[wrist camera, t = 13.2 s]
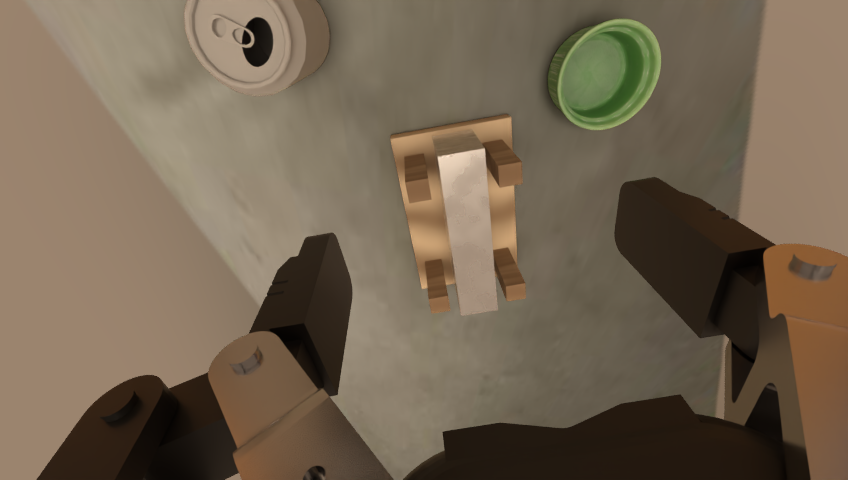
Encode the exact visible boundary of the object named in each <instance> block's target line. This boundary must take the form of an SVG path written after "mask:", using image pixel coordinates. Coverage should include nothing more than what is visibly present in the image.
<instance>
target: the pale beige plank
mask: <svg viewBox="0 0 848 480" xmlns="http://www.w3.org/2000/svg"><path fill="white" fill-rule="evenodd" d="M432 140H433V147H434V153H435V160H436V167H437V173H438V180H439V186H440V193H441V200H442V206H443V213H444V219H445V226H446V232H447V239H448V246H449V252H450V259H451V265H452V272H453V279H454V284H455V289H456V293H457V298H458V303H459V308H460V313H461V316H463V315H470V314H476V313H482V312H488V311H494V310H498V307H497V295H496V282H495V270H494V257H493V245H492V232H491V219H490V207H489V194H488V182H487V169H486V157H485V148H484V146H483V145H482V143H481V142H480V140H479V139H478V137H477V136H476V134H475V133H474V132H473V130H472V129H470V130H464V131H458V132H453V133H447V134H442V135H436V136H432Z"/></svg>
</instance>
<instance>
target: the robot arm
mask: <svg viewBox="0 0 848 480" xmlns="http://www.w3.org/2000/svg"><path fill="white" fill-rule="evenodd" d="M615 242H616V245H617V248H618V250H619V251H620V253H621V254H622V255H623V256H624V257H625V258H626V259H627V260H628V261H629V263H630V264H631V265H632V266H633V267H634V268H635V269H636V270H637V271H638V272H639V273H640V274H641V275H642V277H643V278H644V279H645V280H646V281H647V282H648V283H649V284H650V285H651V286H652V287H653V288H654V289H655V290H656V292H657V293H658V294H659V295H660V296H661V297H662V298H663V299H664V300H665V301H666V302H667V303H668V304H669V305H670V307H671V308H672V309H673V310H674V311H675V312H676V313H677V314H678V315H679V316H680V317H681V318H682V319H683V320H684V322H685V323H686V324H687V325H688V326H689V327H690V328H691V329H692V330H693V331H694V332H695V333H696V334H697V336H698V337H699V338H704V337H711V336H717V335H723V334H725V335H726V336H727V337H728V338H729V342H728V344H727V346H726V350H725V412H724V420H723V419H720V418H716V417H710V416H705V415H699V414H695V413H694V412H693V411H692V409H691V408H690V407H689V405H688V404H687V403H686V401H685V400H684V399H683V397H682V396H681V395H674V396H668V397H661V398H655V399H649V400H642V401H636V402H629V403H623V404H620V405H617V406H615V407H613V408H611V409H609V410H607V411H604V412H602V413H600V414H598V415H596V416H594V417H591V418H589V419H587V420H585V421H583V422H581V423H578V424H576V425H574V426H572V427H569V428H552V427H541V426H530V425H519V424H509V423H495V424H489V425H482V426H476V427H470V428H463V429H457V430H450V431H444V432H443V440H444V449H445V450H444V451H442V452H440V453H438V454H436V455H434V456H432V457H431V458H429V459H427V460H426V461H424V462H423V463H421V464H420V465H419V466H417V467H416V468H415V469H414V470H413V471H411V472H410V473H409V474H408V475H407V476H406V477H405V478H404V479H403V480H848V257H847V256H844V255H842V254H840V253H837V252H834V251H831V250H828V249H825V248H821V247H816V246H811V245H805V244H780V245H775V244H774V243H772V242H770V241H769V240H767V239H765V238H764V237H762V236H761V235H759V234H757V233H755V232H754V231H752V230H751V229H749V228H748V227H746V226H744V225H743V224H741V223H739V222H738V221H736V220H734V219H733V218H732V219H730V218H729V216H728V215H726V214H725V213H723V212H721V211H720V210H716V208H715V207H713V206H712V205H710V204H708V203H707V202H705V201H703V200H702V199H700V198H698V197H694V196H691V195H688V194H685V193H682V192H679V191H678V190H676V189H674V188H673V187H671V186H670V185H668V184H667V183H665V182H663V181H662V180H660V179H659V178H656V177H652V178H647V179H641V180H635V181H629V182H625V183H624V184H623V185H622V187H621V189H620V194H619V202H618V209H617V217H616V224H615ZM351 303H352V284H351V279H350V275H349V272H348V269H347V266H346V263H345V260H344V257H343V255H342V252H341V249H340V246H339V243H338V240H337V238H336V236H335V234H334V233H327V234H321V235H316V236H310V237H306V238H305V240H304V242H303V245H302V247H301V250H300V252H299V255H298V256H296V257H290V258H289V259H288V260H287V261H286V262H285V263H284V264H283V265H282V266H281V267H280V268H279V269H278V271H277V273H276V275H275V277H274V280H273V282H272V285H271V286H270V288H269V291H268V293H267V297H265V299H264V302H263V304H262V306H261V308H260V310H259V313H258V315H257V317H256V319H255V321H254V323H253V326H252V328H251V330H250V332H249V334H247V335H245V336H242V337H240V338H238V339H236V340H234V341H233V342H231V343H230V344H229V345H227V346H226V347H225V348H223V349H222V350H221V351H220V352H219V354H218V355H217V356H216V357H215V358H214V360H213V361H212V363H211V365H210V367H209V371H208V373H206V374H204V375H201V376H199V377H196V378H194V379H191V380H189V381H186V382H184V383H181V384H179V385H177V386H174V387H172V388H169V389H168V387H167V386H166V385H165V384H164V383H163V381H162V380H161V379H160V378H159V377H157V376H154V375H144V376H139V377H135V378H132V379H130V380H127V381H125V382H123V383H121V384H119V385H117V386H116V387H114V388H112V389H111V390H109V391H108V392H106V393H105V394H104V395H103V396H101V397H100V398H99V399H98V400H97V401H95V402H94V403H93V404H92V406H90V407H89V408H88V410H87V411H86V412H85V413H84V415H83V416H82V417H81V419H80V420H79V421H78V423H77V424H76V426H75V427H74V428H73V430H72V431H71V433H70V434H69V435H68V437H67V438H66V439H65V441H64V442H63V444H62V445H61V446H60V448H59V449H58V451H57V452H56V453H55V455H54V456H53V458H52V459H51V460H50V462H49V463H48V464H47V466H46V467H45V469H44V470H43V471H42V473H41V474H40V476H39V477H38V478H37V480H225V479H227V478H229V477H231V476H233V475H235V474H237V473H239V474H240V476H241V479H242V480H393V478H392V477H391V476H390V474H389V473H388V472H387V470H386V469H385V468H384V467H383V465H382V464H381V463H380V461H379V460H378V459H377V458H376V456H375V455H374V454H373V452H372V451H371V450H370V448H369V447H368V446H367V445H366V443H365V442H364V441H363V439H362V438H361V437H360V435H359V434H358V433H357V432H356V430H355V429H354V428H353V426H352V425H351V424H350V423H349V421H348V420H347V419H346V417H345V416H344V415H343V413H342V412H341V411H340V410H339V408H338V407H337V406H336V404H335V403H334V402H333V401H332V399H331V398H330V397H329V396H335V395H338V388H339V381H340V375H341V368H342V362H343V355H344V349H345V342H346V335H347V329H348V322H349V316H350V309H351Z"/></svg>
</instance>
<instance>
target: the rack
mask: <svg viewBox="0 0 848 480" xmlns="http://www.w3.org/2000/svg"><path fill="white" fill-rule="evenodd" d="M470 129H472V130H473V132H474V133H475V134H476V136H477V137H478V139H479V140H480V142H481V143H482V145H483V146H484V148H485V157H486V169H487V182H488V194H489V207H490V219H491V232H492V245H493V257H494V270H495V277H498V280H499V282H500V285H501V288H502V290H503V293H504V295H505V298H506V301H512V300H518V299H524V298H526V290H525V282H524V280H523V277H522V275H521V273H520V271H519V269H518V267H517V247H516V223H515V199H514V185H518V184H522V162H521V160H520V159H519V158H518V157H517V156H516V155H515V154H514V152H513V151H512V127H511V117H510V116H509V115H508V114H505V115H499V116H494V117H488V118H483V119H477V120H472V121H466V122H461V123H455V124H450V125H444V126H439V127H433V128H427V129H422V130H416V131H411V132H405V133H400V134H394V135H391V144H392V149H393V153H394V158H395V163H396V168H397V172H398V177H399V182H400V186H401V191H402V196H403V201H404V205H405V210H406V215H407V220H408V224H409V229H410V234H411V239H412V243H413V248H414V253H415V257H416V262H417V267H418V272H419V276H420V281H421V286H422V289H424V288H428V297H429V303H430V308H431V313H438V312H445V311H450V305H449V299H448V294H447V288H446V285H448V284H454V279H453V272H452V265H451V259H450V252H449V246H448V239H447V232H446V226H445V219H444V213H443V206H442V200H441V193H440V186H439V180H438V173H437V167H436V160H435V153H434V147H433V140H432V136H436V135H442V134H447V133H453V132H458V131H464V130H470Z"/></svg>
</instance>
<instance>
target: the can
mask: <svg viewBox="0 0 848 480" xmlns="http://www.w3.org/2000/svg"><path fill="white" fill-rule="evenodd" d="M184 19H185V31H186V34H187V37H188V40H189V43H190V46H191V49H192V50H193V52H194V53H195V55H196V56H197V58H198V60H199V61H200V63H201V64H202V65H203V66H204V67H205V68H206V69H207V70H208V71H209V72H210V73H211V74H212V75H213V76H214V77H215V78H216V79H217V80H218V81H219V82H220V83H222V84H224V85H226V86H228V87H229V88H231V89H233V90H235V91H237V92H240V93H244V94H248V95H252V96H265V95H273V94H275V93H277V92H279V91H282V90H284V89H286V88H288V87H290V86H291V85H293V84H295V83H297V82H298V81H300V80H302V79H303V78H305V77H307V76H309V75H310V74H312V73H314V72H315V71H316V70H317V69H318V68H319V67H320V66H321V65H322V64H323V62H324V60H325V57H326V55H327V53H328V50H329V41H330V33H329V27H328V21H327V19H326V17H325V15H324V12H323V10H322V8H321V6H320V5H319V3H318V2H317V1H316V0H187V2H186V6H185V10H184Z"/></svg>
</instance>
